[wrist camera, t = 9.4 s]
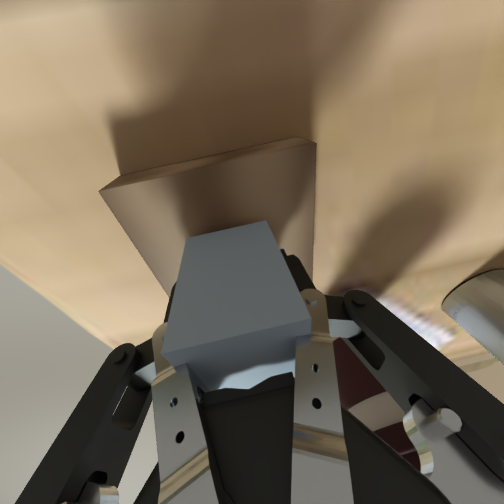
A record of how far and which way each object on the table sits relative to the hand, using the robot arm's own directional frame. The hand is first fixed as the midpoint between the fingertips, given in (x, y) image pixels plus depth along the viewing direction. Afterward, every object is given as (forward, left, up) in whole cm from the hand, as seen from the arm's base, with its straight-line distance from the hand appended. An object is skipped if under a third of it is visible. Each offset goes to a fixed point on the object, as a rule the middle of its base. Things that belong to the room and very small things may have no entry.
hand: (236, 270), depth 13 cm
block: (0, 0, -1) cm, 1 cm away
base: (0, 0, -5) cm, 5 cm away
